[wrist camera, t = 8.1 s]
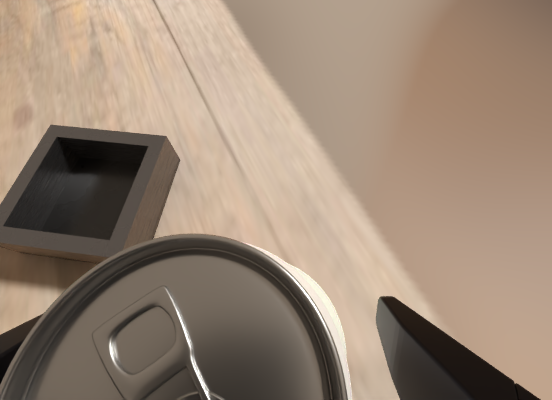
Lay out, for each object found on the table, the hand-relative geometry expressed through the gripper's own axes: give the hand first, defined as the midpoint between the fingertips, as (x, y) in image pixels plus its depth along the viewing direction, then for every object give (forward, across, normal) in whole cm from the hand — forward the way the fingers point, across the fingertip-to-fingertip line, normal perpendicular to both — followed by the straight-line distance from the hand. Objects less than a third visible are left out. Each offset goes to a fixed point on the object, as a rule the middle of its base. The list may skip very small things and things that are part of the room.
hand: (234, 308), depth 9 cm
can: (+5, 0, +7) cm, 8 cm away
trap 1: (+13, +12, +1) cm, 17 cm away
